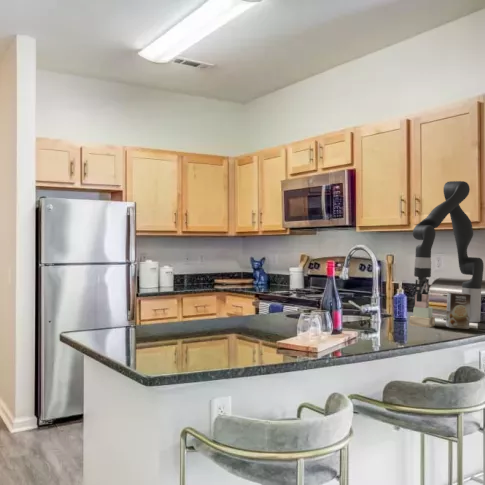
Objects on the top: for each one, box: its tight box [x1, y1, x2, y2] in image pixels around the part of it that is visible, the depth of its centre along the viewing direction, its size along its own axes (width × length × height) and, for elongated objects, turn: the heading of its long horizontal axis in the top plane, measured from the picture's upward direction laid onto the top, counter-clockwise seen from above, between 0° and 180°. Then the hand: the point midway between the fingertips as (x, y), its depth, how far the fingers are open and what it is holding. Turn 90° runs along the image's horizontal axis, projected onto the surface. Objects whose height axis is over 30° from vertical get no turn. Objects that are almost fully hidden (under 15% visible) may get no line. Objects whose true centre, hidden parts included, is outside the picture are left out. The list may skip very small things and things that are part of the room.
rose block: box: [414, 293, 430, 308], centre depth 256 cm, size 5×5×6 cm
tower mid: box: [412, 306, 433, 318], centre depth 257 cm, size 7×7×4 cm
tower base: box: [409, 315, 436, 328], centre depth 257 cm, size 9×9×4 cm
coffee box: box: [445, 292, 471, 330], centre depth 254 cm, size 9×6×16 cm
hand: (421, 300), depth 257 cm, fingers open, 8 cm apart
